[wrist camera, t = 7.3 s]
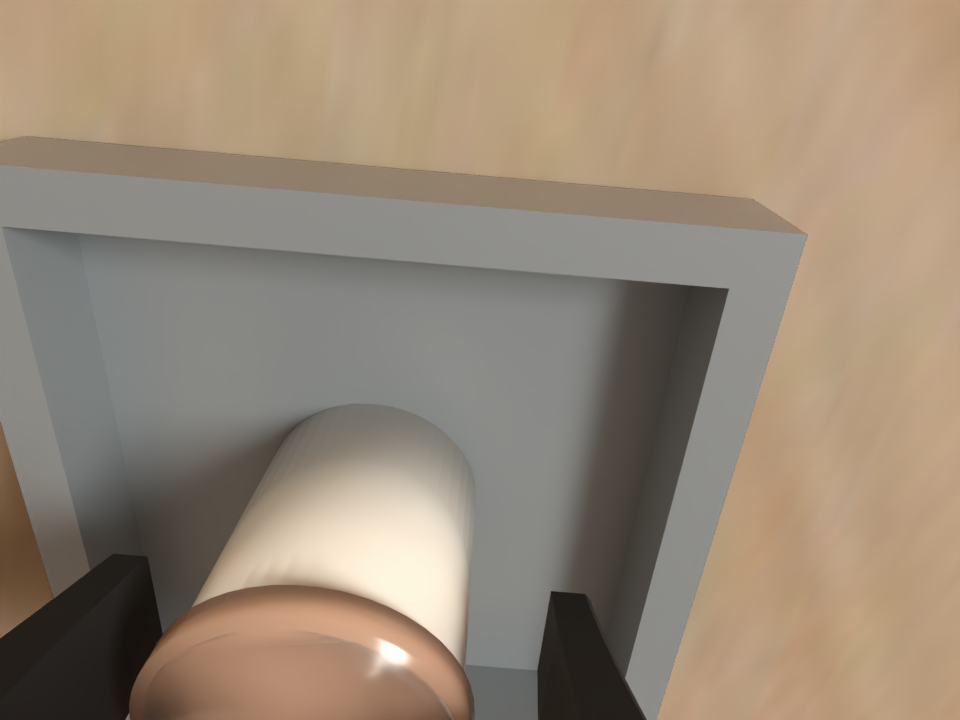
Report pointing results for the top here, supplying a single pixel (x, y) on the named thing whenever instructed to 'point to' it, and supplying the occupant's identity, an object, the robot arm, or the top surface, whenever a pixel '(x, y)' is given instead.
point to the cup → (333, 585)
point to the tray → (388, 369)
